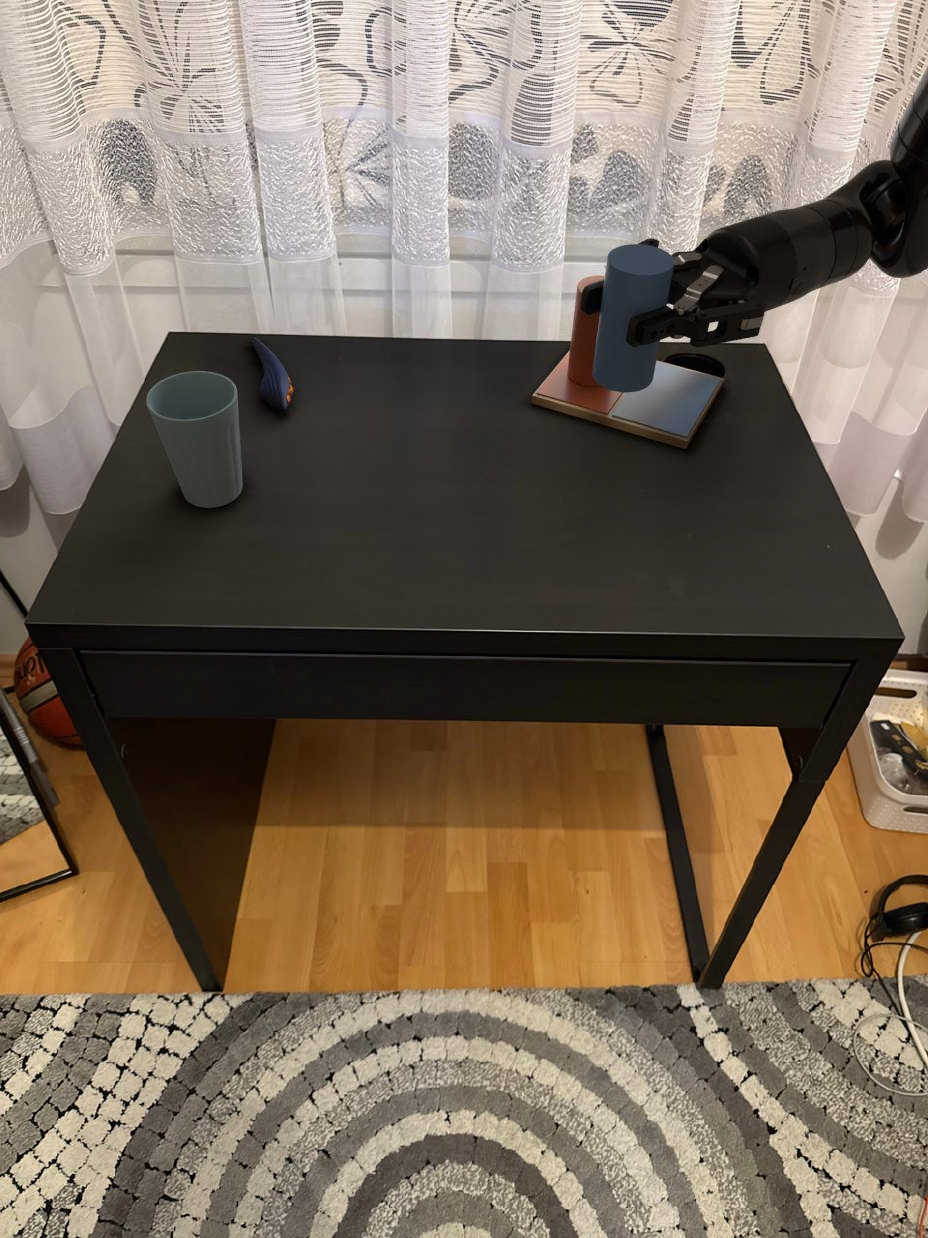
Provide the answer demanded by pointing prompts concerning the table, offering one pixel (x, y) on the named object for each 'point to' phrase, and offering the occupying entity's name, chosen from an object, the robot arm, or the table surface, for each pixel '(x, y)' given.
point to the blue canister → (629, 315)
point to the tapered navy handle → (273, 377)
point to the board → (637, 402)
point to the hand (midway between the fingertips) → (607, 317)
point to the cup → (200, 434)
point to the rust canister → (583, 340)
